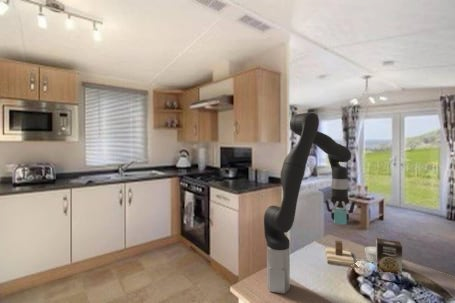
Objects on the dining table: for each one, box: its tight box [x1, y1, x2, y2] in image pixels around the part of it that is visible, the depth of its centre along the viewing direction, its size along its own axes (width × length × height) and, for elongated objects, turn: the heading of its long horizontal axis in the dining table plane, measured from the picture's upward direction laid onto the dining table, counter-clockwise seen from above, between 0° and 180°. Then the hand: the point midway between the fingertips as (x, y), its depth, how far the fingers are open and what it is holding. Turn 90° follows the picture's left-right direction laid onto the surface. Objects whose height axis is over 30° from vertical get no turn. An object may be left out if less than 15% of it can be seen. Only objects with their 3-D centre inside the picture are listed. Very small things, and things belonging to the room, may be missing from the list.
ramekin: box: [364, 246, 376, 263], centre depth 119 cm, size 11×11×5 cm
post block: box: [324, 239, 355, 268], centre depth 123 cm, size 16×12×8 cm
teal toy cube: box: [333, 207, 348, 226], centre depth 121 cm, size 5×5×7 cm
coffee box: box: [375, 237, 403, 276], centre depth 104 cm, size 9×6×16 cm
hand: (339, 220), depth 121 cm, fingers closed on teal toy cube, 5 cm apart
